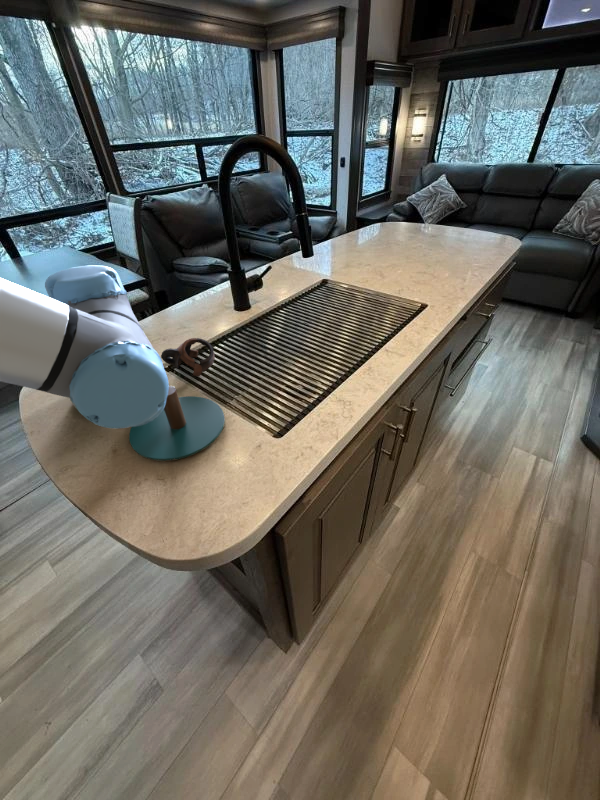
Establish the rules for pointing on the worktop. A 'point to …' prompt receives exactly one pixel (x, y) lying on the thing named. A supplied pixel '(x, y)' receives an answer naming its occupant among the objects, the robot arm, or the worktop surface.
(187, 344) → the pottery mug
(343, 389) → the worktop surface
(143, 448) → the lid
